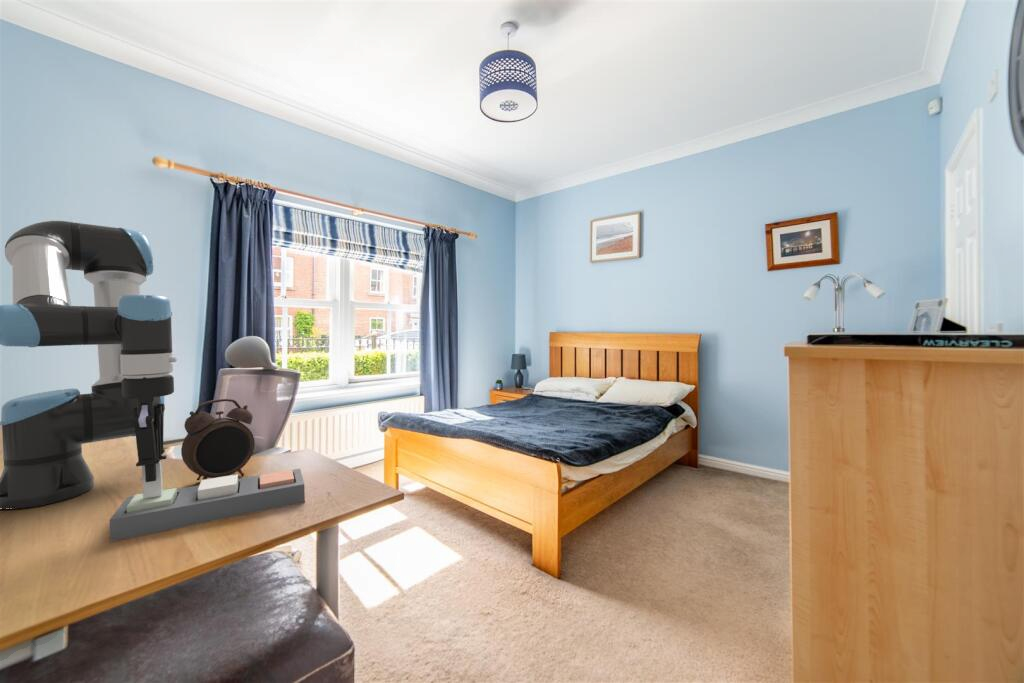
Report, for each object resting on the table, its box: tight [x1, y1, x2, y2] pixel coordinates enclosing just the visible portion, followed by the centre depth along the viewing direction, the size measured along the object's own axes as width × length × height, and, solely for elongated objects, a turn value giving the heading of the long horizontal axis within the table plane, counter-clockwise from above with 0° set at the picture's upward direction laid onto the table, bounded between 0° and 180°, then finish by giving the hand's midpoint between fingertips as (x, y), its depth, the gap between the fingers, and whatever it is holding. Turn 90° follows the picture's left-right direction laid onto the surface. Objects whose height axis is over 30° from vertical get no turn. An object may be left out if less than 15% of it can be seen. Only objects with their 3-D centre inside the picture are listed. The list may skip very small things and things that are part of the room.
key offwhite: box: [198, 473, 239, 500], centre depth 86 cm, size 6×6×3 cm
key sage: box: [127, 487, 178, 513], centre depth 80 cm, size 6×6×3 cm
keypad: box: [109, 468, 306, 543], centre depth 86 cm, size 11×31×4 cm, turn 122°
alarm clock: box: [180, 398, 256, 481], centre depth 102 cm, size 15×7×20 cm, turn 143°
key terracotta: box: [260, 469, 294, 489], centre depth 91 cm, size 6×6×3 cm
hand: (153, 495), depth 80 cm, fingers closed
